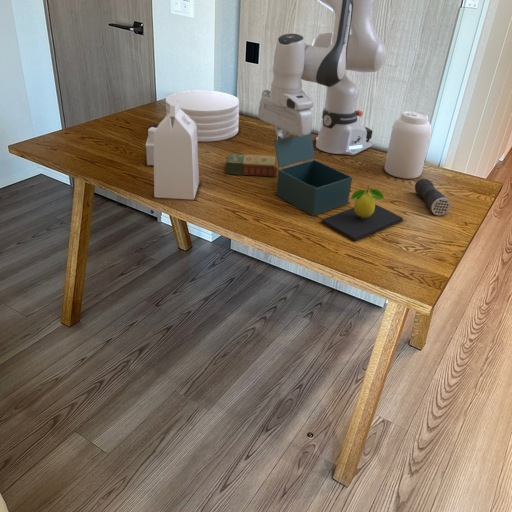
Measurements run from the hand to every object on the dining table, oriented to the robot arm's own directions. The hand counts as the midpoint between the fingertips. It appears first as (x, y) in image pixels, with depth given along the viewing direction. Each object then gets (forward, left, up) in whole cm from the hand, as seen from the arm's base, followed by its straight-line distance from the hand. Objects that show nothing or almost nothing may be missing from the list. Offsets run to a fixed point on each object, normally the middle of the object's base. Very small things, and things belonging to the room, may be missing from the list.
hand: (281, 142), depth 151 cm
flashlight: (-28, +37, -13) cm, 48 cm away
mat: (-2, +33, -13) cm, 36 cm away
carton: (+2, -12, -13) cm, 18 cm away
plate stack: (-7, -54, -13) cm, 56 cm away
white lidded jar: (-41, +17, -13) cm, 46 cm away
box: (0, +15, -13) cm, 20 cm away
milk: (+30, -12, -13) cm, 35 cm away
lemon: (-2, +33, -12) cm, 35 cm away
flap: (0, +6, 0) cm, 6 cm away
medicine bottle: (+24, -34, -13) cm, 44 cm away
